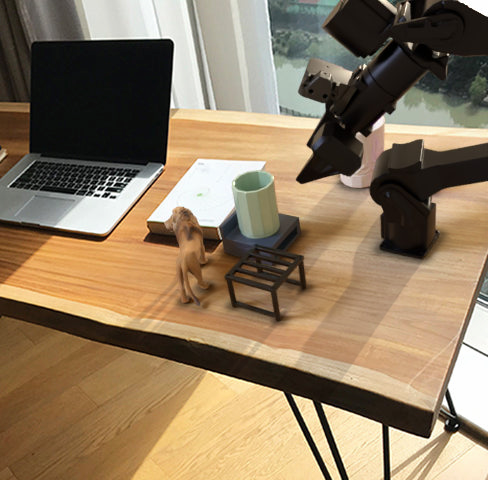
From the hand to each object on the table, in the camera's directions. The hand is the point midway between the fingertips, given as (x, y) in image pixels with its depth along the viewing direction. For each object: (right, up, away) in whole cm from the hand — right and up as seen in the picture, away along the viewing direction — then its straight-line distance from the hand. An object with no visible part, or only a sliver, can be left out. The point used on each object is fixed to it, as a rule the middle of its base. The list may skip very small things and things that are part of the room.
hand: (303, 163), depth 93 cm
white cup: (+13, +1, +19) cm, 23 cm away
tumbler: (-5, -8, +9) cm, 13 cm away
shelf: (-4, -10, +11) cm, 15 cm away
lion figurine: (-15, -15, +8) cm, 23 cm away
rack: (-5, -18, +1) cm, 19 cm away
